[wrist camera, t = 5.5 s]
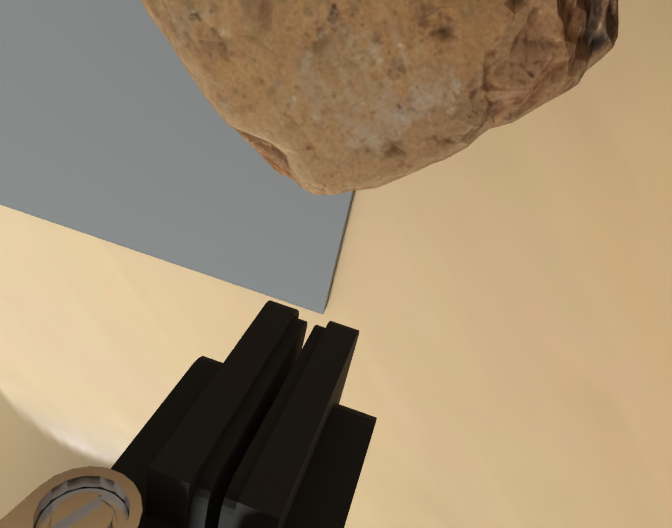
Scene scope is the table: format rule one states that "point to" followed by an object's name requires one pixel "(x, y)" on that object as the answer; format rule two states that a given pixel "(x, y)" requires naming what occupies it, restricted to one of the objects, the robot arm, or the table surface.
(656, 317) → the table surface
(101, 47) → the mat
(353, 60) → the pitted brown stone
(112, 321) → the table surface
